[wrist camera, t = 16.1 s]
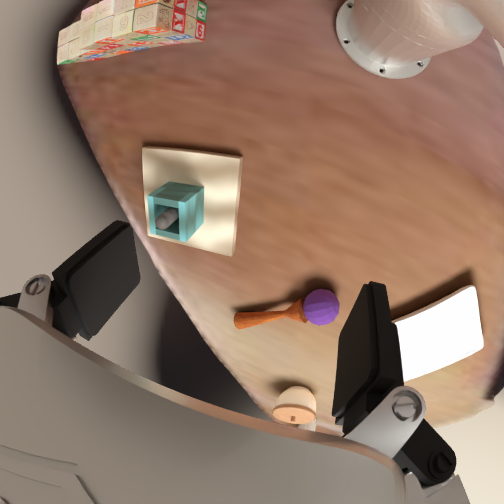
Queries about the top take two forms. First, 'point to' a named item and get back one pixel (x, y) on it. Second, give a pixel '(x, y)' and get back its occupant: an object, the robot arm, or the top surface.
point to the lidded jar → (295, 406)
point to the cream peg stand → (215, 192)
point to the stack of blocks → (130, 28)
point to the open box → (189, 209)
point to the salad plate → (440, 333)
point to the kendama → (297, 311)
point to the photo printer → (309, 425)
